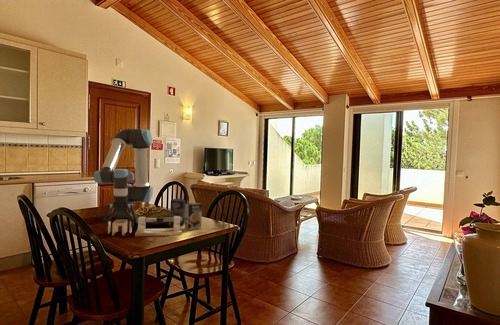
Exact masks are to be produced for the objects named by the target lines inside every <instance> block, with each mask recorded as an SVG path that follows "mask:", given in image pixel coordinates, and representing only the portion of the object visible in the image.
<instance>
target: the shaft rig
mask: <svg viewBox="0 0 500 325" xmlns="http://www.w3.org/2000/svg"><path fill="white" fill-rule="evenodd" d="M181 221H182V217H180V216H174V218H170V217H163V218H162V222H163V223H166V222H167V223H170V222H174V225H173V227H171V228H146V226H147V225H146V223H157V217H146V216H139V217H137V218H136V220H135V222H136V223H137V230H136V231H135V232H134V237H153V236H155V237H156V236H157V237H158V236H181V235H183V234H182V233H183V228H182V227H181V225H180V222H181Z"/></svg>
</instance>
